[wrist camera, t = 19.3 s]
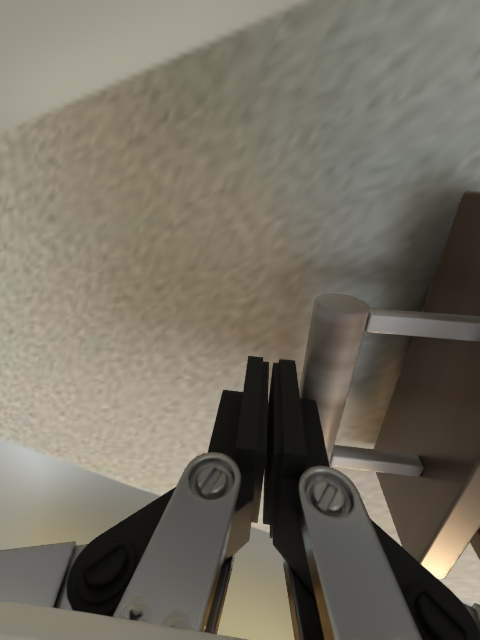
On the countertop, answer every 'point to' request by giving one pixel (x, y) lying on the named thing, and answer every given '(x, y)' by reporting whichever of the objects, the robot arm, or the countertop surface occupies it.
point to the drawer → (415, 399)
